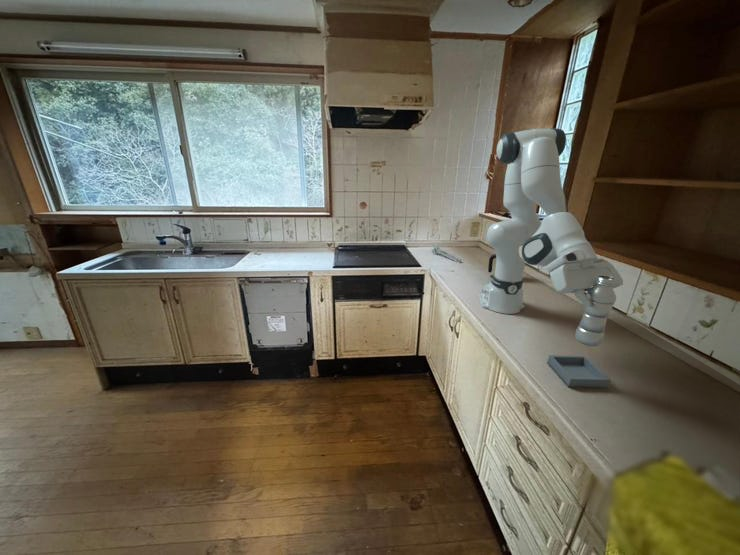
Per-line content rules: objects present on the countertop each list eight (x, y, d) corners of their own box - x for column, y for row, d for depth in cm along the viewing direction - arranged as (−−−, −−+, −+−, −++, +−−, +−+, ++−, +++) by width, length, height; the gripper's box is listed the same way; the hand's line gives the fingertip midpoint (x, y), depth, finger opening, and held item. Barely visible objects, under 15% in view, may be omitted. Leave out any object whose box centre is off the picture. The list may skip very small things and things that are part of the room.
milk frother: (509, 275, 170) (514, 251, 165) (519, 286, 155) (524, 259, 150) (484, 274, 171) (488, 250, 166) (491, 284, 157) (496, 258, 152)
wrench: (458, 267, 194) (428, 251, 217) (460, 266, 195) (430, 251, 218) (460, 256, 190) (430, 241, 213) (462, 255, 191) (432, 241, 214)
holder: (546, 363, 93) (549, 355, 92) (582, 363, 93) (584, 355, 92) (568, 387, 83) (570, 378, 82) (607, 388, 83) (610, 379, 82)
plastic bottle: (589, 336, 87) (607, 273, 80) (607, 349, 81) (629, 282, 74) (568, 337, 87) (585, 273, 80) (584, 350, 80) (604, 282, 74)
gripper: (596, 263, 90) (618, 305, 84) (541, 267, 85) (561, 312, 80) (615, 253, 84) (640, 297, 79) (557, 256, 79) (580, 304, 74)
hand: (600, 305), depth 79 cm, fingers closed on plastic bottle, 6 cm apart
